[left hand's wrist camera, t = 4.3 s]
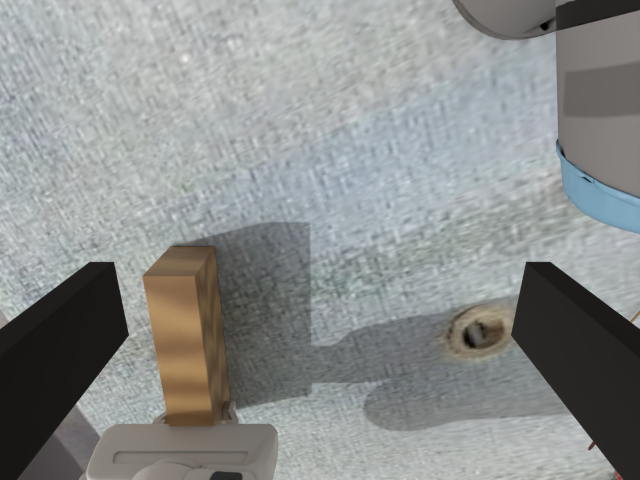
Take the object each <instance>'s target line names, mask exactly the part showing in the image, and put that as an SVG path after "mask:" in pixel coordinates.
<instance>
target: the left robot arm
mask: <svg viewBox="0 0 640 480" xmlns="http://www.w3.org/2000/svg"><path fill="white" fill-rule="evenodd" d="M453 2H454V4H455V6H456V8H457V9H458V11H459V12H460V14H461V15H462V16H463V17H464V19H465V20H466V21H467V22H468V23H469V24H471V25H472V26H473V27H474V28H476V29H477V30H479V31H480V32H482V33H484V34H486V35H488V36H491V37H494V38H498V39H503V40H524V39H529V38H533V37H537V36H542V35H545V34H548V33H551V32H553V31H555V30H557V31H556V57H557V101H558V139H557V141H556V151H557V154H558V156H559V158H560V161H561V173H562V184H563V189H564V192H565V194H566V196H567V198H568V199H569V200H570V201H571V202H572V203H573V204H574V205H576V207H577V209H579V210H580V211H581V212H583V213H584V214H586V215H588V216H589V217H591V218H593V219H595V220H597V221H599V222H602V223H604V224H607V225H609V226H612V227H615V228H619V229H622V230H626V231H630V232H634V233H639V234H640V0H453ZM560 29H561V30H560ZM128 336H129V333H128V328H127V324H126V319H125V314H124V309H123V304H122V299H121V294H120V290H119V285H118V280H117V275H116V270H115V265H114V262H89V263H88V264H86V265H85V266H84V267H82V268H81V269H80V270H78V271H77V272H76V273H74V274H73V275H72V276H70V277H69V278H68V279H66V280H65V281H64V282H62V283H61V284H60V285H58V286H57V287H56V288H54V289H53V290H52V291H50V292H49V293H48V294H46V295H45V296H44V297H42V298H41V299H40V300H38V301H37V302H36V303H34V304H33V305H32V306H30V307H29V308H28V309H26V310H25V311H24V312H22V313H21V314H20V315H18V316H17V317H16V318H14V319H13V320H12V321H10V322H9V323H8V324H6V325H5V326H4V327H2V328H1V329H0V480H17V479H18V478H19V476H20V475H21V474H22V472H23V471H24V470H25V469H26V467H27V466H28V465H29V463H30V462H31V461H32V459H33V458H34V457H35V456H36V454H37V453H38V452H39V450H40V449H41V448H42V447H43V445H44V444H45V443H46V441H47V440H48V439H49V438H50V436H51V435H52V434H53V432H54V431H55V430H56V429H57V427H58V426H59V425H60V423H61V422H62V421H63V420H64V418H65V417H66V416H67V414H68V413H69V412H70V411H71V409H72V408H73V407H74V405H75V404H76V403H77V402H78V400H79V399H80V398H81V396H82V395H83V394H84V393H85V391H86V390H87V389H88V387H89V386H90V385H91V384H92V382H93V381H94V380H95V378H96V377H97V376H98V374H99V373H100V372H101V371H102V369H103V368H104V367H105V365H106V364H107V363H108V362H109V360H110V359H111V358H112V356H113V355H114V354H115V353H116V351H117V350H118V349H119V347H120V346H121V345H122V344H123V342H124V341H125V340H126V338H127V337H128ZM511 336H512V337H513V338H514V340H515V341H516V342H517V344H518V345H519V346H520V347H521V349H522V350H523V351H524V353H525V354H526V355H527V356H528V358H529V359H530V360H531V362H532V363H533V364H534V365H535V367H536V368H537V369H538V371H539V372H540V373H541V374H542V376H543V377H544V378H545V380H546V381H547V382H548V384H549V385H550V386H551V387H552V389H553V390H554V391H555V393H556V394H557V395H558V396H559V398H560V399H561V400H562V402H563V403H564V404H565V405H566V407H567V408H568V409H569V411H570V412H571V413H572V414H573V416H574V417H575V418H576V420H577V421H578V422H579V423H580V425H581V426H582V427H583V429H584V430H585V431H586V432H587V434H588V435H589V436H590V438H591V439H592V440H593V441H594V443H595V444H596V445H597V447H598V448H599V449H600V450H601V452H602V453H603V454H604V456H605V457H606V458H607V460H608V461H609V462H610V463H611V465H612V466H613V467H614V469H615V470H616V471H617V472H618V474H619V475H620V476H621V478H622V479H623V480H640V329H639V328H638V327H636V326H635V325H634V324H632V323H631V322H630V321H628V320H627V319H626V318H624V317H623V316H622V315H620V314H619V313H618V312H616V311H615V310H614V309H612V308H611V307H610V306H608V305H607V304H606V303H604V302H603V301H602V300H600V299H599V298H598V297H596V296H595V295H594V294H592V293H591V292H590V291H588V290H587V289H586V288H584V287H583V286H582V285H580V284H579V283H578V282H576V281H575V280H574V279H572V278H571V277H570V276H568V275H567V274H566V273H564V272H563V271H562V270H560V269H559V268H558V267H556V266H555V265H554V264H552V263H551V262H526V265H525V270H524V275H523V280H522V285H521V289H520V294H519V299H518V304H517V309H516V314H515V319H514V324H513V328H512V333H511Z"/></svg>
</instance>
